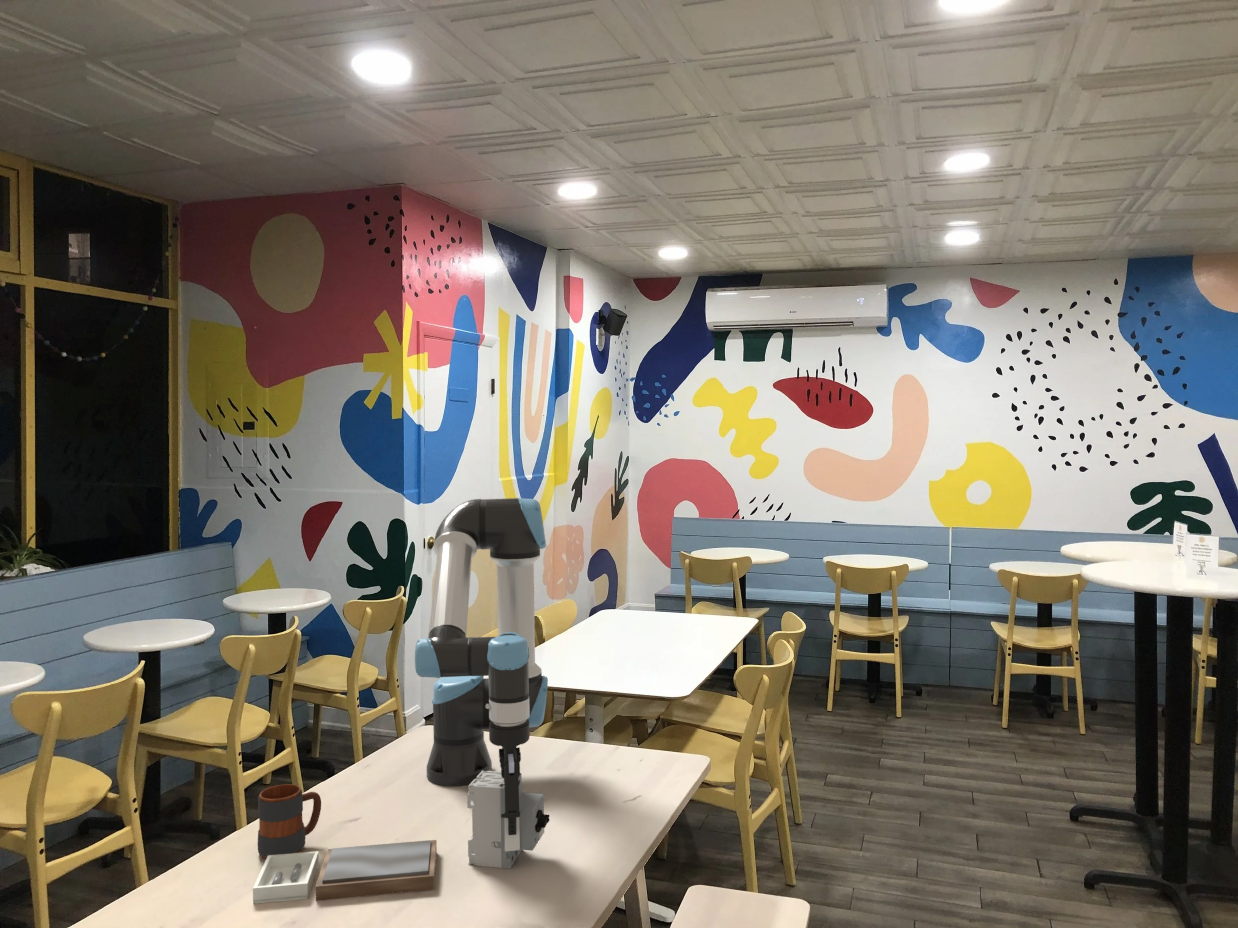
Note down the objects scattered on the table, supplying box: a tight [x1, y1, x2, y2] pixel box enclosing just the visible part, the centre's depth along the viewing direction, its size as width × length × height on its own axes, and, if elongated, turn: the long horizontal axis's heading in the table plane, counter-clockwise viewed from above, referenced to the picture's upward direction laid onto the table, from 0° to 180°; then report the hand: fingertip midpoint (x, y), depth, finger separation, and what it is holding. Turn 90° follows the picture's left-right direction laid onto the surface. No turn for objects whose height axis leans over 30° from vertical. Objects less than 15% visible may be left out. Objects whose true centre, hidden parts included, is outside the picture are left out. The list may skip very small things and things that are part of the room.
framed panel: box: [315, 839, 438, 902], centre depth 164 cm, size 14×20×3 cm
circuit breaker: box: [466, 770, 550, 870], centre depth 170 cm, size 8×14×15 cm, turn 79°
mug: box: [257, 783, 322, 860], centre depth 175 cm, size 9×12×12 cm
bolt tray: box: [252, 850, 320, 904], centre depth 161 cm, size 12×9×3 cm
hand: (511, 837), depth 170 cm, fingers closed on circuit breaker, 9 cm apart
